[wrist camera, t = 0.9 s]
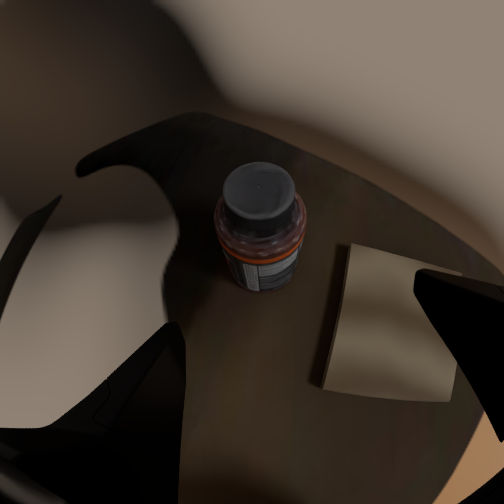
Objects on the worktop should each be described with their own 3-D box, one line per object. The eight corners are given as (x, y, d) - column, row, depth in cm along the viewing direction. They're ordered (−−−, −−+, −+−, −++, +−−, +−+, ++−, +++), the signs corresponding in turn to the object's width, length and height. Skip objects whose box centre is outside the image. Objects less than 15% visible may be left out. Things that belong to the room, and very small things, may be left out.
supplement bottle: (224, 242, 26) (199, 158, 16) (286, 229, 26) (294, 141, 16) (236, 302, 23) (211, 245, 13) (303, 287, 24) (329, 221, 13)
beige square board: (442, 401, 18) (449, 401, 17) (319, 388, 20) (322, 389, 19) (455, 277, 23) (461, 273, 22) (348, 248, 25) (351, 243, 24)
